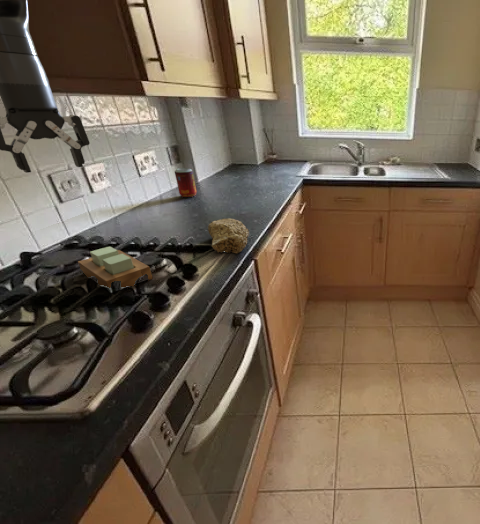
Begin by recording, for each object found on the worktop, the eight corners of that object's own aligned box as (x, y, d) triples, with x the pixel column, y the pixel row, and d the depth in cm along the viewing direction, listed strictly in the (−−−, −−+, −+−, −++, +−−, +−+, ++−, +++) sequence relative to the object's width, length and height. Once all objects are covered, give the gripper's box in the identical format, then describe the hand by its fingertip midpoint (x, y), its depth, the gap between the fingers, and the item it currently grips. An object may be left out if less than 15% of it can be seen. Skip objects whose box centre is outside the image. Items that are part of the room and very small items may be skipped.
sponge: (251, 257, 99) (253, 222, 114) (242, 236, 94) (245, 202, 109) (206, 267, 97) (214, 230, 112) (194, 246, 92) (205, 211, 107)
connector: (110, 294, 76) (106, 281, 75) (82, 273, 84) (77, 261, 83) (152, 278, 83) (149, 266, 81) (122, 261, 91) (119, 249, 89)
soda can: (181, 194, 153) (175, 167, 148) (198, 194, 155) (193, 167, 150) (178, 198, 147) (172, 170, 142) (196, 198, 149) (190, 170, 144)
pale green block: (117, 286, 79) (110, 264, 76) (109, 281, 81) (101, 259, 79) (137, 279, 82) (130, 258, 80) (129, 274, 85) (122, 253, 82)
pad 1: (105, 278, 83) (97, 256, 80) (97, 273, 85) (89, 251, 82) (124, 271, 86) (117, 250, 83) (116, 266, 88) (109, 246, 85)
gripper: (62, 84, 70) (87, 163, 77) (-39, 79, 59) (2, 171, 66) (76, 84, 66) (101, 167, 73) (-29, 79, 55) (13, 176, 62)
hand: (54, 169), depth 70 cm, fingers open, 8 cm apart
